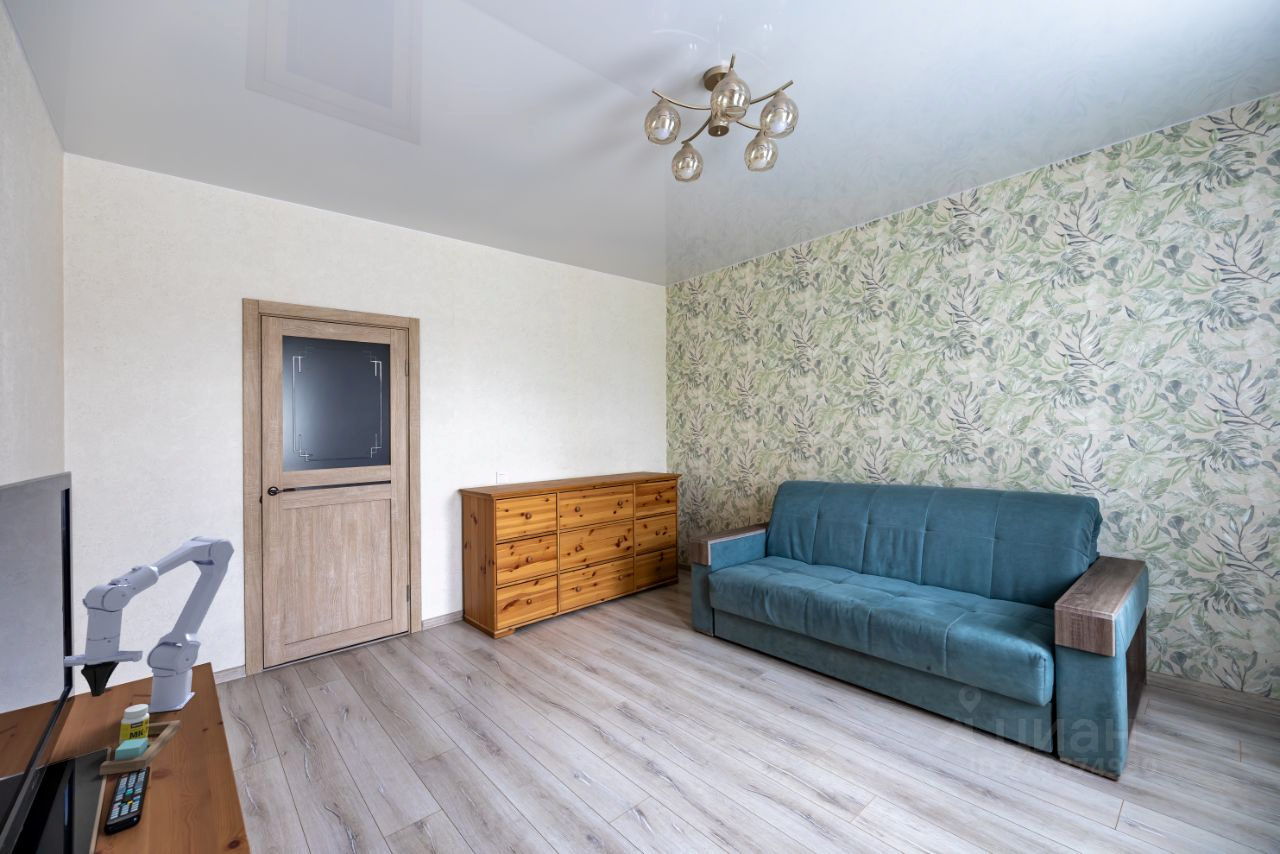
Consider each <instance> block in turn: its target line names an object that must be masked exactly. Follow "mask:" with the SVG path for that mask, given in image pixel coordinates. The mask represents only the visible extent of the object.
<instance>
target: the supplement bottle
mask: <svg viewBox="0 0 1280 854" xmlns="http://www.w3.org/2000/svg"><path fill="white" fill-rule="evenodd" d="M148 706H149V704H145V703H140V704H135V705H132V706H129V707H127V708H125V709H124V714H123V718H122V719H121V721H120V729H119V739H118V740H119V741H118V747H119V746H120V745H121V744H122V743H123V742H124V741H126V740H134V739H142V738H148V736H149V735H148V724H150V723H149V722H150V713H147V712H148Z"/></svg>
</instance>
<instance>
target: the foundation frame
mask: <svg viewBox="0 0 1280 854" xmlns="http://www.w3.org/2000/svg"><path fill="white" fill-rule="evenodd" d="M180 726H181V720H180V719H179V720H169V721H160V722H153V723H149V724H148V735H147V736H151V735H159V736H158V737H156V739H155V740H154V741H148V746H147V750H146V751H145V752H144V753H143V755H142V756H141V757H136V758H128V759H121V760H115V759H114V760H113V759H112V760H107V761H104V762H103V763H101V765H100V767H99V773H98V774H99V775H98V776H104V775H113V774H118V773H119V774H121V773H126V772H133V771H134V772H135V771H140V770H139V769H142V770H144V769H143V768H145V769H147V767H148V766H149V765H150V764H151V763H152V762H153V760H154V759H155V758H156V757H157V756H158V755H159V753H160V752H161V751H162V750H163V749H164V747H166V745H167V744H168V743H169V741H170V740H171V739H172V738H173V737H174V735H175V734H176V733H177V732H178V731H179V730H180V729H181V727H180Z"/></svg>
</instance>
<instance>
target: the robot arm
mask: <svg viewBox="0 0 1280 854" xmlns="http://www.w3.org/2000/svg"><path fill="white" fill-rule="evenodd" d="M234 552H235V548H234V546H233V543H232V542H231V541H230V540H229V539H227V538H216V537H215V538H214V537H204V536H199V535H198V536H194V537H192V538H191V539H189V540H186V541H184V542H183V543H182V545H181V546H180V547H178V548H177V549H175V550H173V551H172V552H169V554H167V555H165V556H163V557H162V558H160V559H158V560H157V561H156V562H154V563H153V564H150V565H146V564H142V565H135V566H133V567H132V568H131V571H127V572H126V573H124V574H123V575H121V576H118V577H114V578H112V579H111V580H110V582H108V583H104V584H102V583H100V584H97V585H95V586H94V587H92V588H91V589H89V591H87V593H86V595H85V596H84V598H82V601H81V602H82V605H83V607H84V608H85V609H86V610H87V613H86V615H87V616H88V617H87V625H86V626H87V628H86V635H85V636H86V638H85V639H86V640H85V647H84V653H82V654H77V655H76V654H75V655H69V656H64V657H65V659H64V666H65V667H64V668H66V667H75V666H77V667H79V666H83V668H82V669H80V674H81V675H82V676H83V677H84V678H85V680H86V682H87V684H88V687H89V689H90V694H91V697H92V698H95V697H101V696H102V695H103V694H104V693H105V690H106V688H107V685H108V683H109V680H110V678H111V676H112V675H113V673H114V671H115V670H116V669H117V667H118V666H119V664H120V663H126V662H127V663H128V662H132V663H136V662H137V663H138V662H140V661H141V660H142V659H143V654H144V653H143V652H144V651H143V650H120V642H121V641H120V640H121V632H122V631H121V629H122V620H123V611H124V609H125V607H126V606H127V605H128V604H129V603H130V601H131V600H132V599H133V598H134V597H135V596H137V595H138V594H140V593H142V592H144V591H145V590H147V589H148V588H149V589H150V588H151V587H152V586H154V585H156V584H157V583H158V581H159V577H160V576H163V575H164V574H166V573H169V572H171V571H172V570H175V569H176V568H178V567H180V566H182V565H184V564H186V563H188V562H192V563H194V565H195V566H197V568H198V569H199V571H200V575H199V577H198V579H197V581H196V583H195V585H194V587H193V589H192V591H191V592H190V594H189V597H188V599H187V601H186V602H185V605H184V606H183V608H182V610H181V613H180V615H179V616H178V617H177V620H176V623H175V624H174V626H173V628H172V629H171V631H169V632H168V633H167V634H165V635H163V636H161V637H160V638H159V640H158V642H157V644H156V645H155V646H153V648H152V649H150V651H149V652H148V655H147V658H146V664H147V666H148V667H149V668H150V669H151V673H152V684H151V694H150V695H151V697H150V704H148V712H147V713H148V714H152V713H161V712H162V713H163V712H169V711H177V710H182V709H183V707H185V706H186V705H187V703H188V702H189V701H190V700H191V699H192V698H193V697H194V696H195V694H196V692H194V691H193V692H191V691H192V681H193V680H192V679H193V670H192V667H193V666H194V665H195V664H196V662H197V659H198V656H199V650H200V647H201V646H202V643H201V641H200V639H199V637H198V636H197V634H198V631H199V630H200V628H201V626H202V623H203V621H204V619H205V618H206V615H207V614H208V611H209V610H210V608H211V605H212V603H213V601H214V599H215V597H216V595H217V593H218V591H219V589H220V587H221V585H222V582H223V581H224V578H225V576H226V574H227V572H228V570H229V569H228V568H229V562H230V560H231V559H232V556H233V554H234ZM179 644H180V645H179Z"/></svg>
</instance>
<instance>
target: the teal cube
mask: <svg viewBox="0 0 1280 854" xmlns="http://www.w3.org/2000/svg"><path fill="white" fill-rule="evenodd" d="M148 742H149V737H147V738H142V739H134V740H126V741H124V742H123V743H122V744H121V745H120V746H119V745H118V747H117V748H116V749H115V750H114V752H115V754H114V760H121V759H128V758H136V757H141V756H142V755H143V753H144V752H145V751H146V750H147V746H148Z"/></svg>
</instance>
